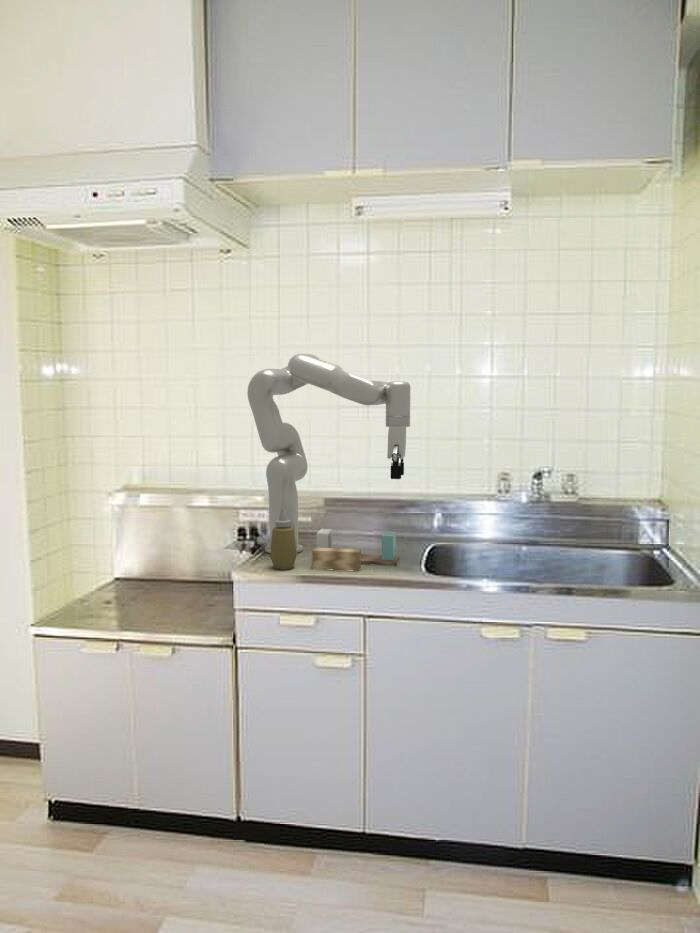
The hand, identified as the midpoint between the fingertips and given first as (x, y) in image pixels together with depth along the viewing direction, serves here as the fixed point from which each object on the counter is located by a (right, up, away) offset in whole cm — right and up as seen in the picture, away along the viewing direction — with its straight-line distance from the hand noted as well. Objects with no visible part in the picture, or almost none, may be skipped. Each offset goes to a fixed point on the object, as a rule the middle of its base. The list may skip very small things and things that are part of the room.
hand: (397, 476), depth 230 cm
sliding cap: (-3, -25, 0) cm, 25 cm away
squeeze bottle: (-35, -27, -7) cm, 45 cm away
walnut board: (-13, -26, +2) cm, 29 cm away
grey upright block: (-23, -26, +4) cm, 35 cm away
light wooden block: (-19, -28, -8) cm, 34 cm away
